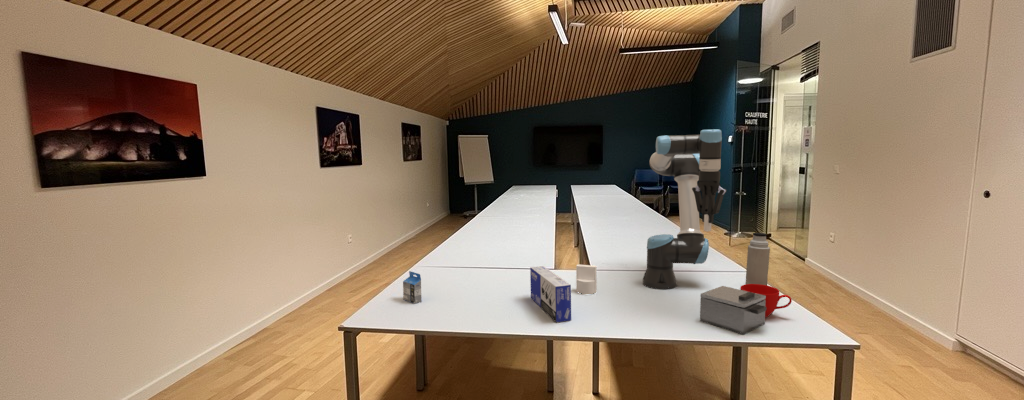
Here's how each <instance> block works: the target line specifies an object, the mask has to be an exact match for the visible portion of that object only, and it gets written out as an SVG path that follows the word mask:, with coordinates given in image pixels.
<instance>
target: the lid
mask: <svg viewBox="0 0 1024 400" xmlns="http://www.w3.org/2000/svg"><path fill="white" fill-rule="evenodd" d="M701 297H703V298H707V299H711V300H715V301H719V302H723V303H726V304H730V305H734V306H738V307H742V308H746V307H748V306H750V305H753V304H755V303H757V302H760V301H762V300H764V299H766V296H765V295H761V294H757V293H752V292H748V291H743V290H740V289H739V288H738V289H737V288H734V287H730V286H726V285H720V286H719V287H715V288H713V289H710V290H707V291H704V292H701V293H700V298H701Z"/></svg>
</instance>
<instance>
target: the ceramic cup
mask: <svg viewBox="0 0 1024 400" xmlns="http://www.w3.org/2000/svg"><path fill="white" fill-rule="evenodd" d="M739 288H740V289H739V290H743V291H748V292H752V293H757V294H761V295H765V296H766V299H764V300H766V304H765V307H766V311H765V318H768V317H769V316H770V315H771V314H773V312H774V311H775V310H780V309H784V308H787V307H789V306H790V305H791V303H792V301H793V300H792V299H793V298H791V296H790V295H788V294H781V295H780V290H779V289H778V288H776V287H773V286H769V285H768V284H767V285H761V284H742V285H740V287H739ZM782 298H788V299H789V300H788V303H786V304H784V305H779V306H778V304H779V301H780V300H781V299H782Z"/></svg>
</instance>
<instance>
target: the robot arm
mask: <svg viewBox="0 0 1024 400" xmlns="http://www.w3.org/2000/svg"><path fill="white" fill-rule="evenodd" d="M722 140H723V136H722V130H721V129H714V128H713V129H702V130H700V134H686V135H683V134H681V135H677V134H675V135H673V134H672V135H665V134H664V135H659V136H657V137H656V140H655V152H654V153H652V154H651V156H650V158H649V159H648V160H649V167H650V169H651V170H652V171H653V172H655V173H656V174H658V175H659V176H660V175H661V176H664V177H665V176H666V177H673V179H674V180H673V181H675V182H676V183H677V189H678V190H677V191H678V194H677V195H678V210H679V232H678V233H677V235H676V236H677V237H676V238H675V237H674V235H672V234H668V233H667V234H665V233H664V234H655V235H651V236H650V237H648V239H647V241H646V269H645V272H644V275H643V277H642V285H644V286H645V285H646V286H645V287H647V286H648V287H647V288H651V287H652V289H656V288H657V290H668V289H669V290H670V289H671V290H672V289H674V288H676V287H677V286H678V285H677V281H678V280H677V279H676V275H675V272H674V264H692V265H696V264H697V265H699V264H705V263H706V261H707V259H708V255H709V250H710V247H709V246H710V243H709V238H706V237H705V235H704V232H706V233H708V232H711V231H712V224H713V223H714V222H715V221H714V215H717V214H719V213H720V210H721V207H722V203H723V199H724V196H725V194H726V193H727V190H728V189H726V188H723V187H721V183H720V181H721V171H720V170H721V165H722V163H721V162H722V161H721V159H722V158H721V157H722V143H723V142H722ZM700 213H701V216H702V217H701V219H702V223H703V232H702V231H701V226H700V225H701V224H700Z"/></svg>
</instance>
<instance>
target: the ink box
mask: <svg viewBox="0 0 1024 400" xmlns="http://www.w3.org/2000/svg"><path fill="white" fill-rule="evenodd" d="M529 271H530V272H529V273H530V276H529V277H530V280H529V281H530V299H531V300H532V301H534V303H535V304H536V305H538V306H539V308H541V310H543V311H544V312H545V313H546V314H547V315H548V316H549V317H550V318H551V319H553V321H554V322H556V323H561V322H567V321H568V322H570V321H572V288H571V287H572V286H571V283H569V282H567V281H566V280H565V279H563V278H562V277H560V276H558V275H557V274H556V273H554V272H553V271H552V270H550V269H549V268H547V267H545V266H544V265H542V266H531V267H530V270H529Z"/></svg>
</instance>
